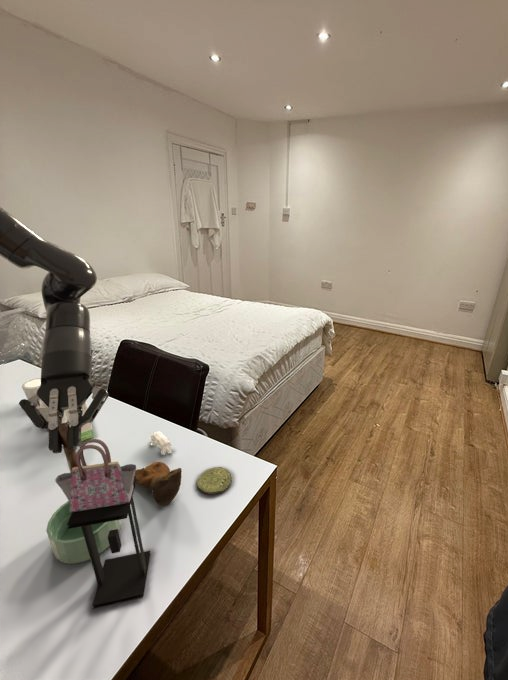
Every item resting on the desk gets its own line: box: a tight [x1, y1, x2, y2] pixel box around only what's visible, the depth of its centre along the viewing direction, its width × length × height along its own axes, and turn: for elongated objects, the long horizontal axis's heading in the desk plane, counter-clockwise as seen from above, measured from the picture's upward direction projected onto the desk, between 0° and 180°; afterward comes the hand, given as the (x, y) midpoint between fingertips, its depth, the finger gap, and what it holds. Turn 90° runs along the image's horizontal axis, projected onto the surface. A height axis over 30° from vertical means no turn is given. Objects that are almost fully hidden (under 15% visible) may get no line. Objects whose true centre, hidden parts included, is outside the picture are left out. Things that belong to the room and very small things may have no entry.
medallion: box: [196, 466, 233, 495], centre depth 76 cm, size 8×8×1 cm
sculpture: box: [135, 461, 183, 506], centre depth 72 cm, size 8×10×15 cm
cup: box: [38, 400, 68, 423], centre depth 93 cm, size 11×8×8 cm
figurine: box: [149, 430, 173, 456], centre depth 85 cm, size 2×8×5 cm, turn 50°
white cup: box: [21, 377, 41, 400], centre depth 101 cm, size 7×7×7 cm
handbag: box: [54, 438, 151, 610], centre depth 50 cm, size 10×8×30 cm
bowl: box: [46, 500, 122, 565], centre depth 62 cm, size 11×11×6 cm
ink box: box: [65, 400, 95, 442], centre depth 88 cm, size 9×5×12 cm, turn 38°
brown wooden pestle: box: [58, 422, 77, 473], centre depth 57 cm, size 4×4×15 cm
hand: (65, 451), depth 54 cm, fingers closed on brown wooden pestle
